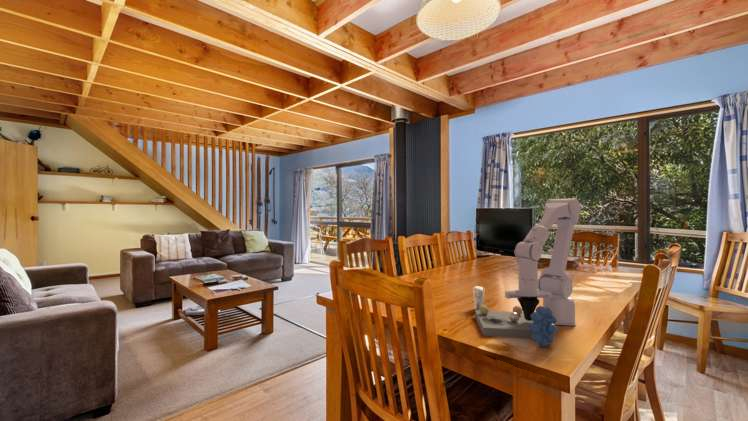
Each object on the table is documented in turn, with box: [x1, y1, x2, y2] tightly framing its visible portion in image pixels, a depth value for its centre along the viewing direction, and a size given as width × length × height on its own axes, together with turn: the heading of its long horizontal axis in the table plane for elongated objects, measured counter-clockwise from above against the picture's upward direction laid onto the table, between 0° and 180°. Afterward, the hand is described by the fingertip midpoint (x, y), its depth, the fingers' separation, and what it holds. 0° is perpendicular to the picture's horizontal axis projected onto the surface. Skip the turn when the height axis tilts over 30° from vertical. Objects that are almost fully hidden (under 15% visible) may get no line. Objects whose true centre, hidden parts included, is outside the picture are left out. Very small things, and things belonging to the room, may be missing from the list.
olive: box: [479, 304, 490, 315], centre depth 115 cm, size 3×3×3 cm
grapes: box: [529, 305, 559, 348], centre depth 93 cm, size 12×7×12 cm, turn 122°
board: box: [474, 309, 533, 339], centre depth 109 cm, size 19×18×2 cm
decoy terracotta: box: [512, 305, 523, 315], centre depth 114 cm, size 3×3×3 cm
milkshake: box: [472, 285, 486, 311], centre depth 128 cm, size 4×5×10 cm
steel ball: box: [509, 311, 520, 322], centre depth 107 cm, size 3×3×3 cm
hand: (528, 319), depth 106 cm, fingers closed
